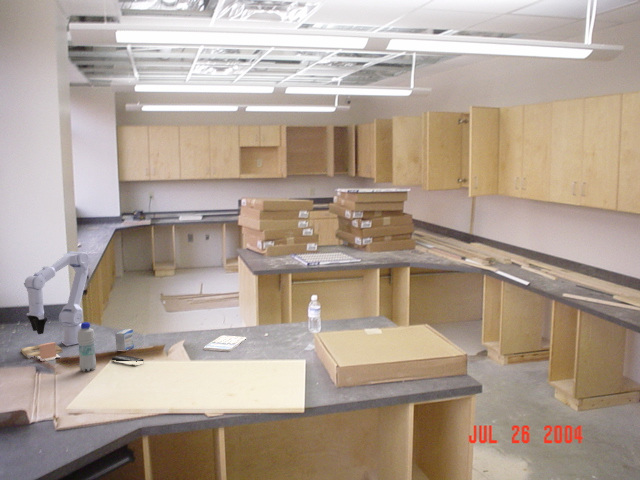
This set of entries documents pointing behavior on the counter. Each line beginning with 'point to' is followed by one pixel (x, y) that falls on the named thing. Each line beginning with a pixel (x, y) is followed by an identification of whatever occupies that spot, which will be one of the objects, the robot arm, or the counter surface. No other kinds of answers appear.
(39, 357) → the pad
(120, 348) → the medicine box
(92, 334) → the bottle
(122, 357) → the multiport hub
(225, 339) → the white book
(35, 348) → the gold flat square frame
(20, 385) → the counter surface
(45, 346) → the peach cuboid
